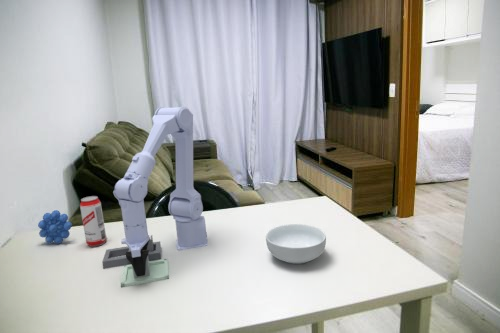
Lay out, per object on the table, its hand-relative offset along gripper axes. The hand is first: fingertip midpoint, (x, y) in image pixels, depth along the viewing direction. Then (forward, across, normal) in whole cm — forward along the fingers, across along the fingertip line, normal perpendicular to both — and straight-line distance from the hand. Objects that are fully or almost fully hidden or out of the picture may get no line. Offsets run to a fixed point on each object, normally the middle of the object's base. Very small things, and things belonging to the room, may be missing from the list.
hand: (141, 269), depth 93 cm
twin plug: (+2, -11, +1) cm, 11 cm away
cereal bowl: (+2, +5, +43) cm, 43 cm away
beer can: (+2, -27, -16) cm, 31 cm away
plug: (+1, 0, 0) cm, 1 cm away
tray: (+2, 0, +1) cm, 2 cm away
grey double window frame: (+2, -11, -3) cm, 12 cm away
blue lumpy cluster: (+2, -33, -29) cm, 44 cm away
